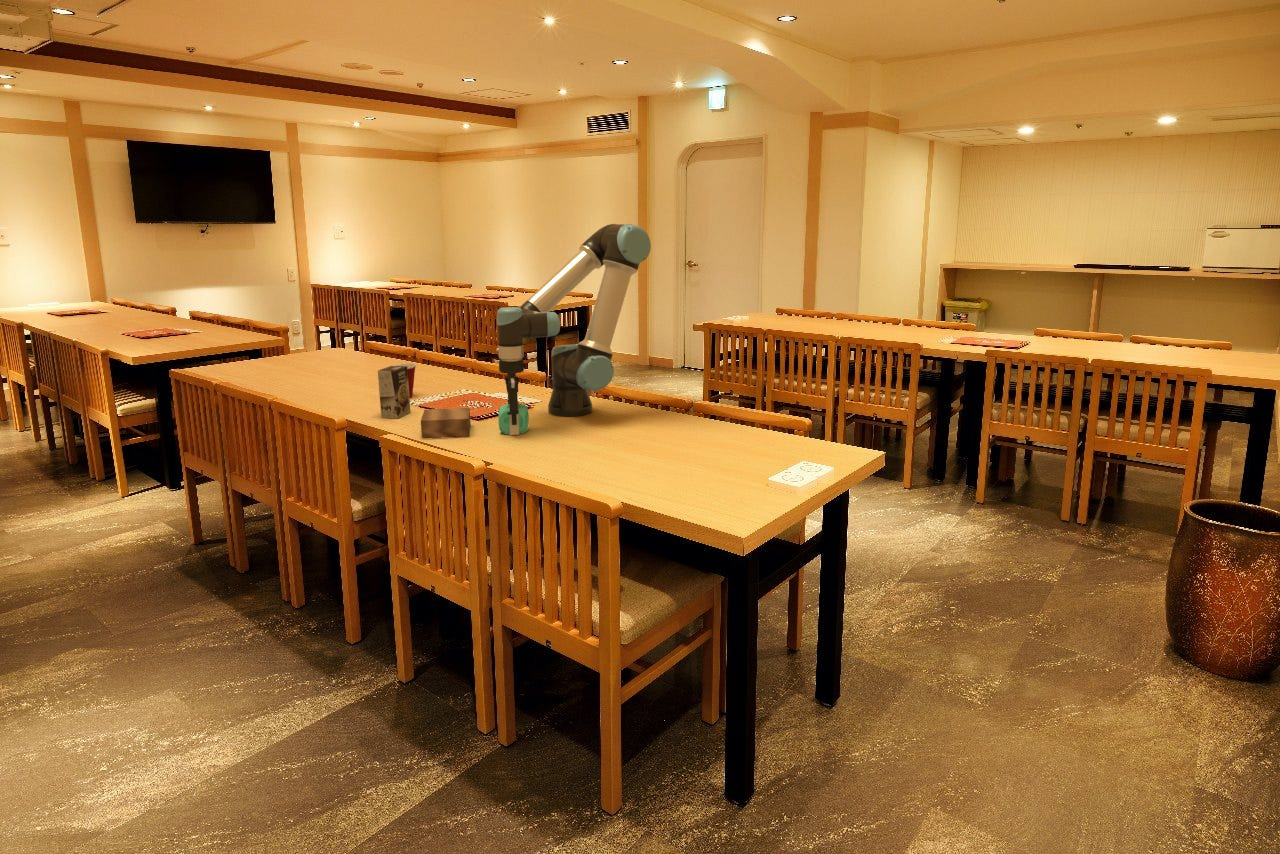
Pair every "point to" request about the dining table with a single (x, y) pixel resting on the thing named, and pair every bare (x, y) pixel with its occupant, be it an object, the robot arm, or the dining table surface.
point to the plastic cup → (409, 375)
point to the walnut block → (446, 423)
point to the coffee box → (394, 391)
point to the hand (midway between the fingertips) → (513, 430)
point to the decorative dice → (505, 422)
